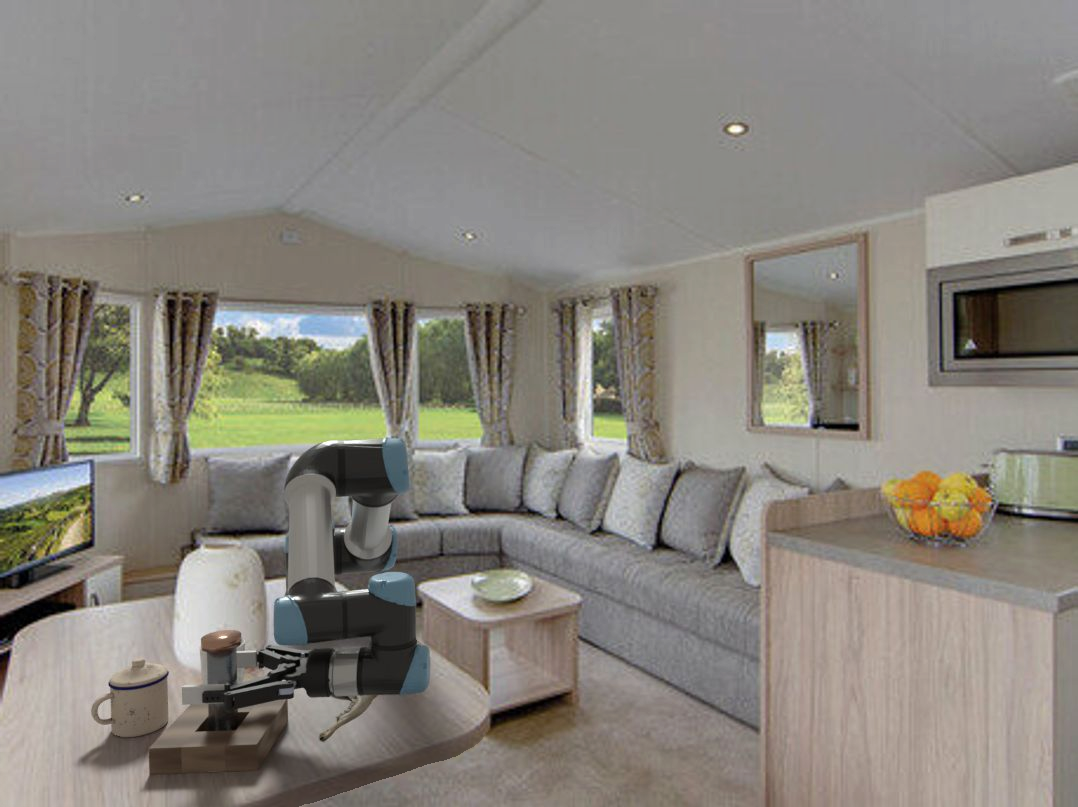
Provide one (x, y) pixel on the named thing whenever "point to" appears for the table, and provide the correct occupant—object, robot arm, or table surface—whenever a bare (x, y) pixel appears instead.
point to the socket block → (218, 740)
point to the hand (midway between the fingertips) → (201, 676)
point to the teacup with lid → (136, 699)
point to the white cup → (204, 665)
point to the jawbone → (349, 713)
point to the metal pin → (221, 674)
